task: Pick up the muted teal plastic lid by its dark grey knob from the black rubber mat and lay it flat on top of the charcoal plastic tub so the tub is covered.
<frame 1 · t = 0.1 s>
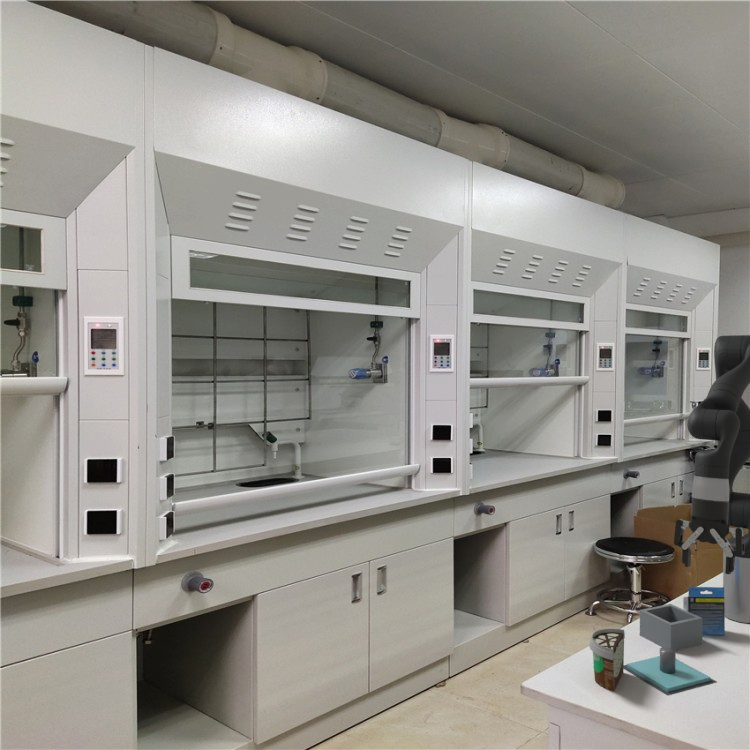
hand: (707, 570, 155), 22 cm above the lab bench, tool pointing down, fingers open, 8 cm apart
lid: (667, 673, 152), point 1 cm above the lab bench, touching mat
tub: (670, 641, 169), on the lab bench
mat: (667, 676, 152), on the lab bench
label tape cartridge: (703, 633, 175), on the lab bench
food container: (604, 682, 151), on the lab bench
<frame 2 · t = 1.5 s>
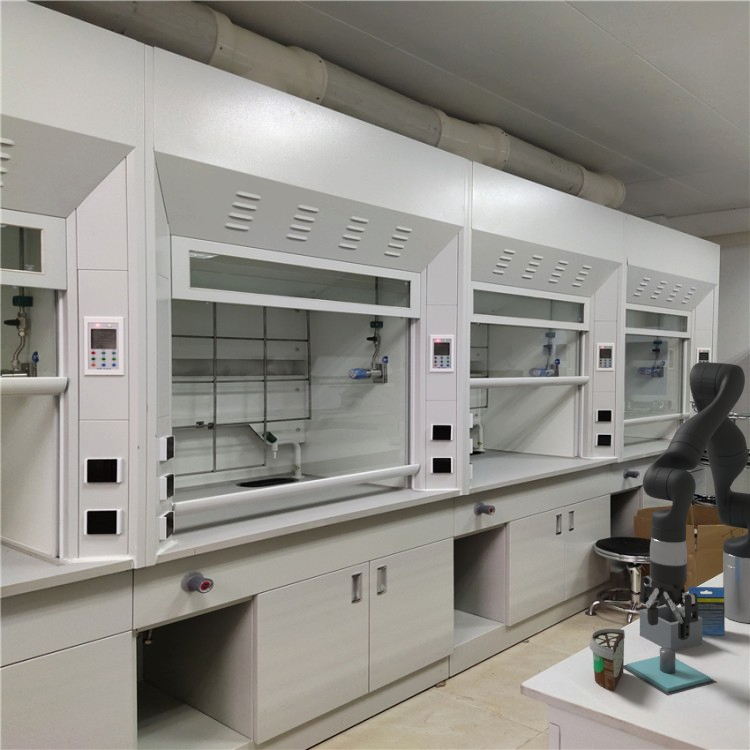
hand: (667, 631, 151), 10 cm above the lab bench, tool pointing down, fingers open, 8 cm apart
nothing on the lab bench moved.
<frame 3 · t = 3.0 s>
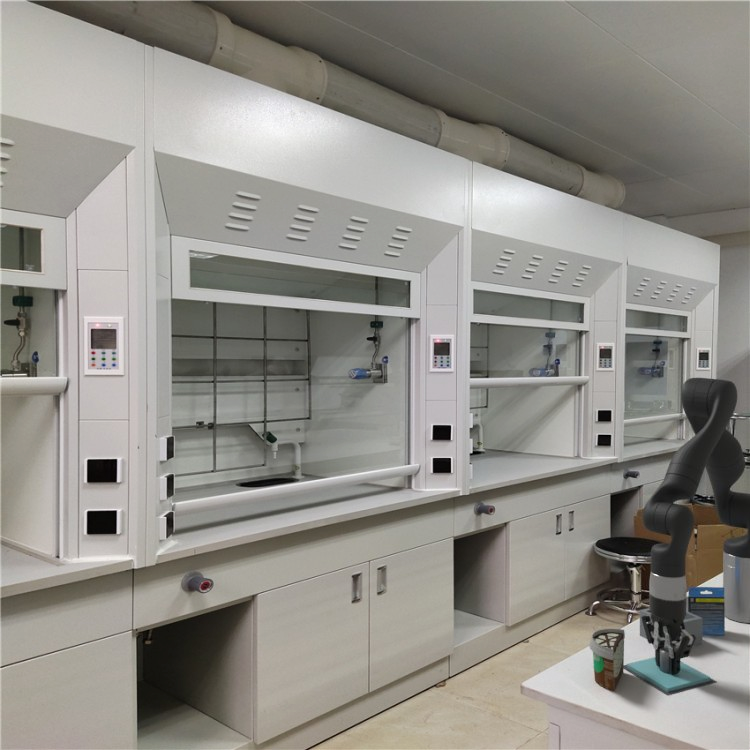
hand: (667, 669, 152), 2 cm above the lab bench, tool pointing down, fingers closed on lid, 3 cm apart
lid: (667, 673, 152), point 1 cm above the lab bench, touching gripper, mat
everything else where it was.
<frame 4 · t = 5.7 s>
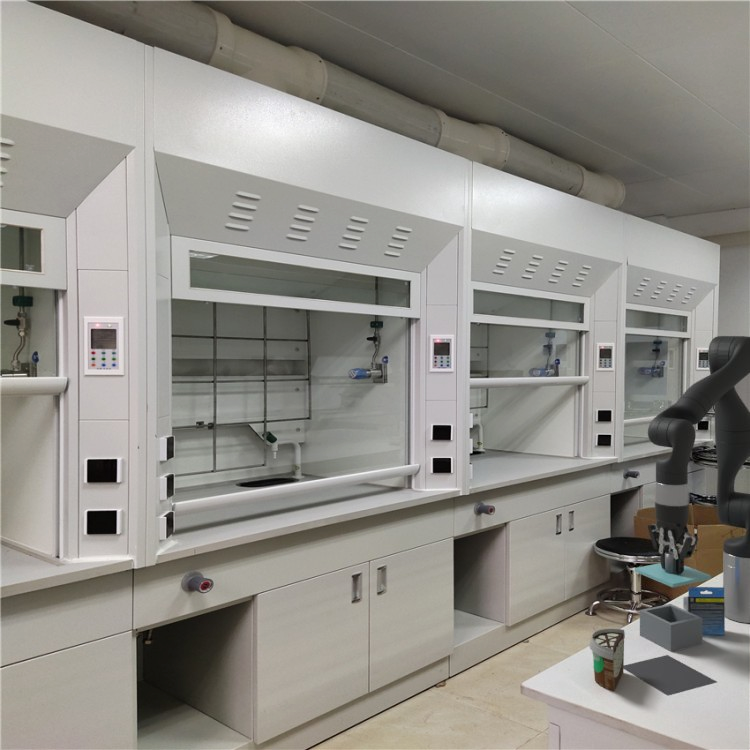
hand: (672, 570, 166), 18 cm above the lab bench, tool pointing down, fingers closed on lid, 3 cm apart
lid: (672, 575, 166), point 17 cm above the lab bench, touching gripper
everything else where it was.
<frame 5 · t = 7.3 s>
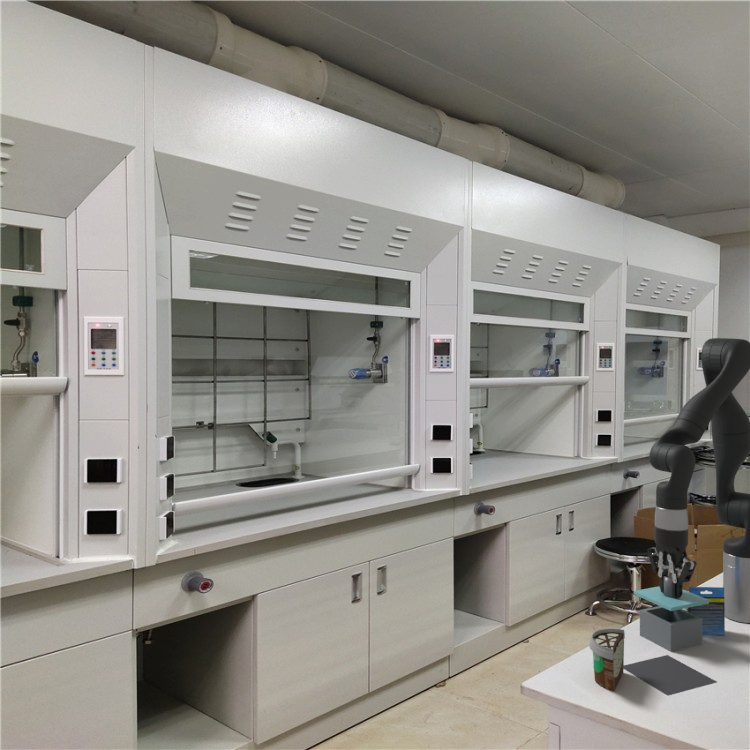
hand: (670, 594, 169), 12 cm above the lab bench, tool pointing down, fingers closed on lid, 3 cm apart
lid: (670, 598, 169), point 11 cm above the lab bench, touching gripper
everything else where it was.
when the fingers open (10 cm above the lab bench, at t = 8.4 s): lid drops 2 cm, resting on tub.
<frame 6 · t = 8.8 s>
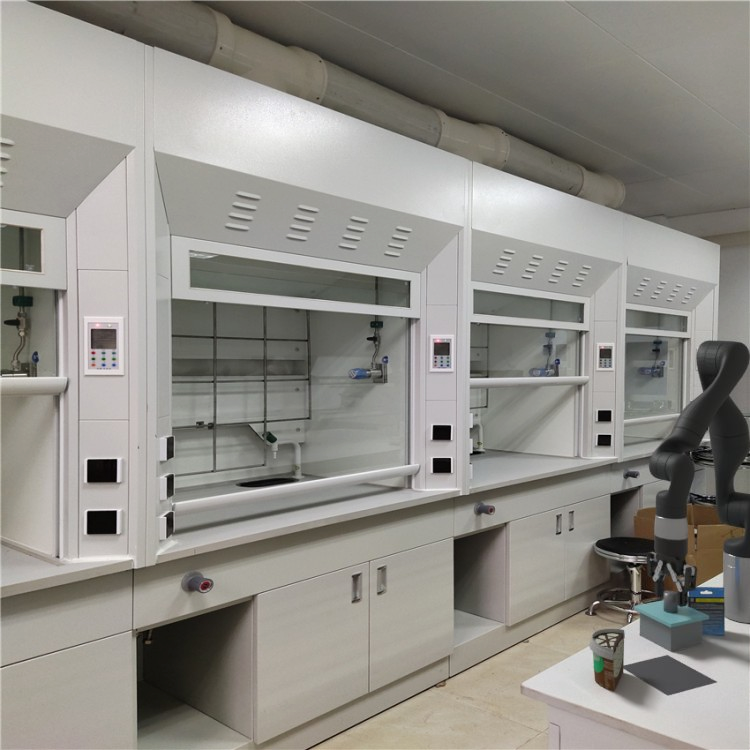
hand: (670, 600, 169), 10 cm above the lab bench, tool pointing down, fingers open, 6 cm apart
lid: (670, 614, 169), point 7 cm above the lab bench, touching tub
everything else where it was.
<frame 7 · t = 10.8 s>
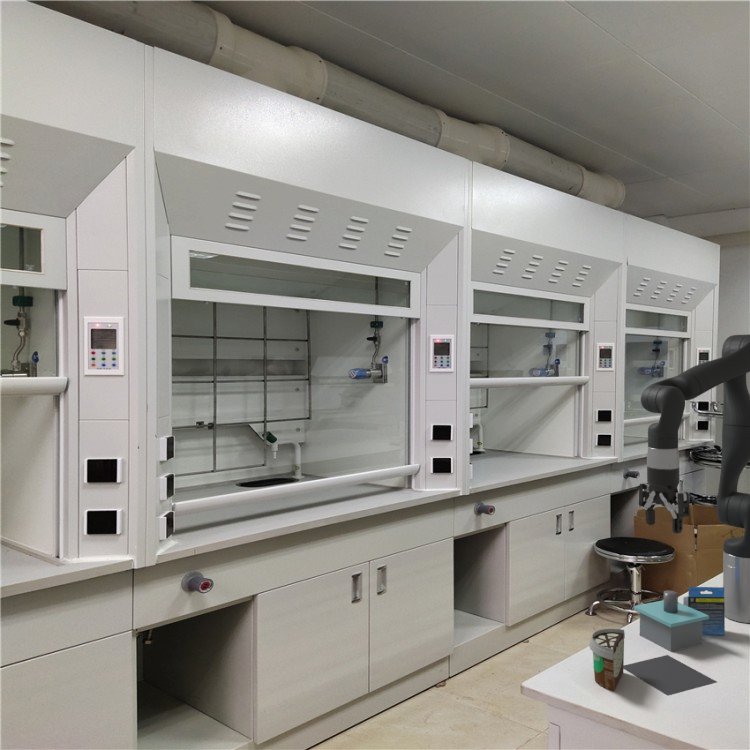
hand: (663, 528, 174), 27 cm above the lab bench, tool pointing down, fingers open, 8 cm apart
nothing on the lab bench moved.
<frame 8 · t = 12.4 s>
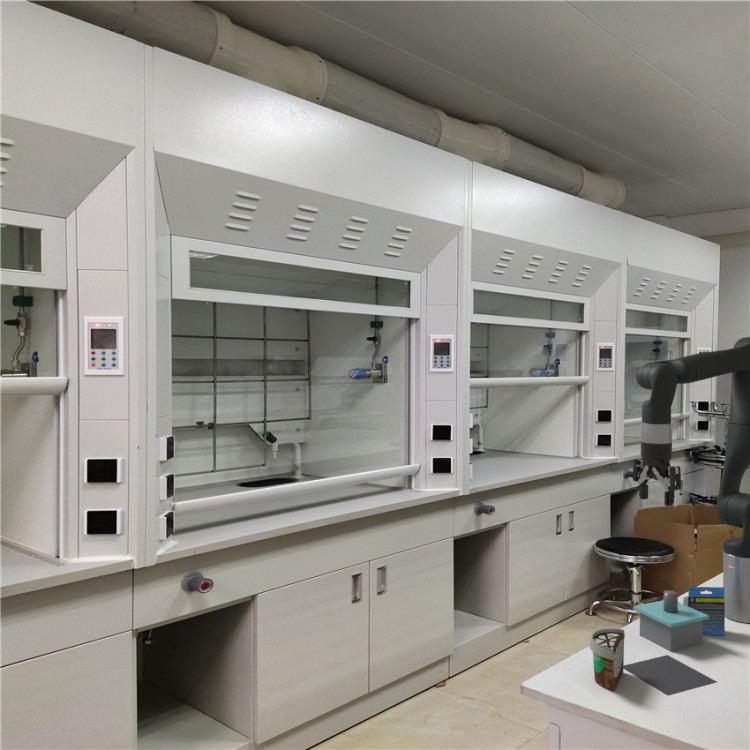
hand: (656, 502, 179), 32 cm above the lab bench, tool pointing down, fingers open, 8 cm apart
nothing on the lab bench moved.
at the end: lid 0.0 cm off-centre on the tub, point 7.0 cm above the tub's base; lid tilted 0°; the gripper is holding nothing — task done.
